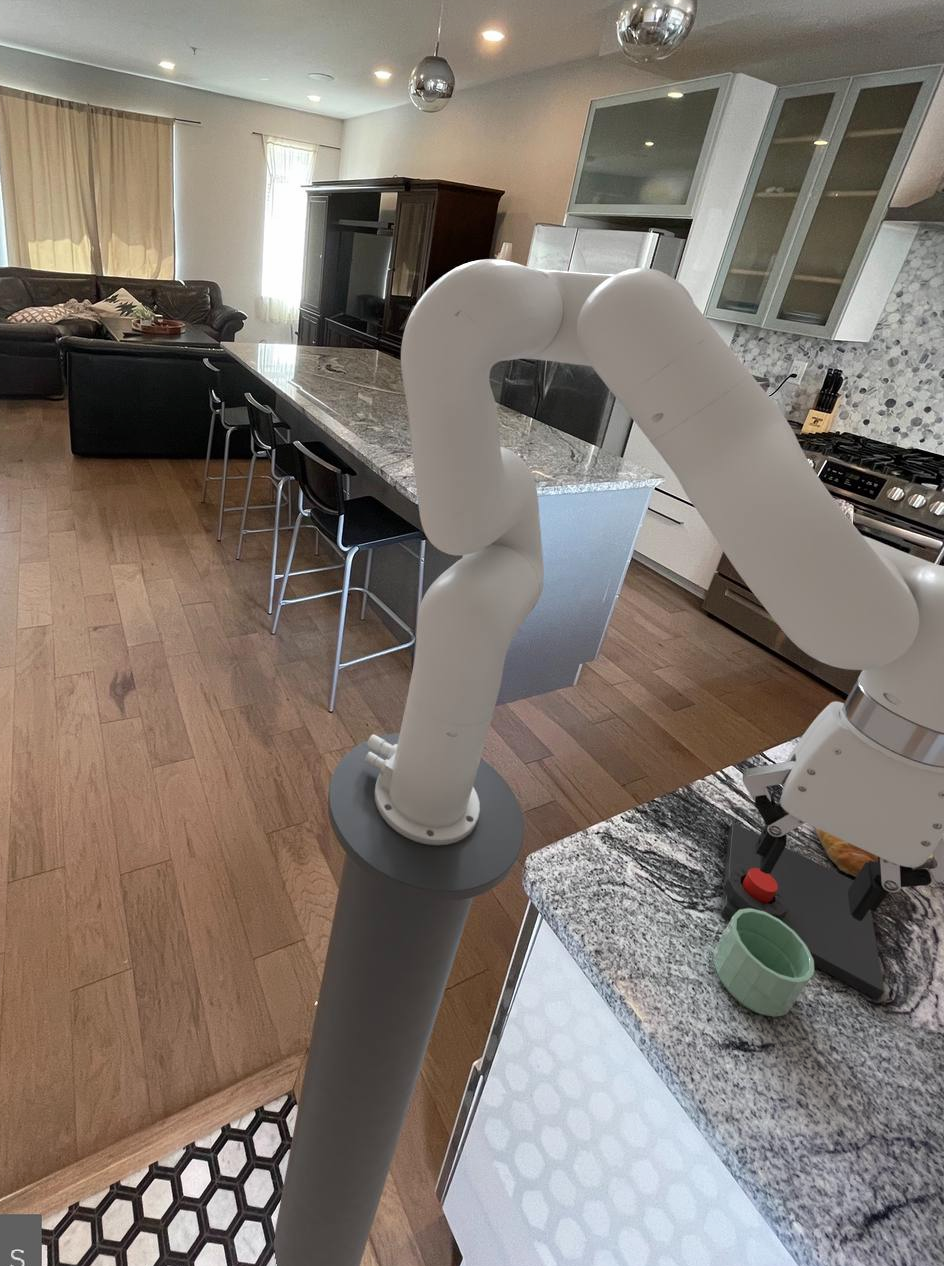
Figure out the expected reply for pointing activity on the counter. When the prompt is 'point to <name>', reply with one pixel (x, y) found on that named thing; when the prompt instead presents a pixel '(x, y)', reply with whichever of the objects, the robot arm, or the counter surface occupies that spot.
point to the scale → (808, 910)
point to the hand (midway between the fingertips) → (808, 882)
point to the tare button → (760, 885)
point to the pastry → (844, 853)
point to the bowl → (763, 962)
